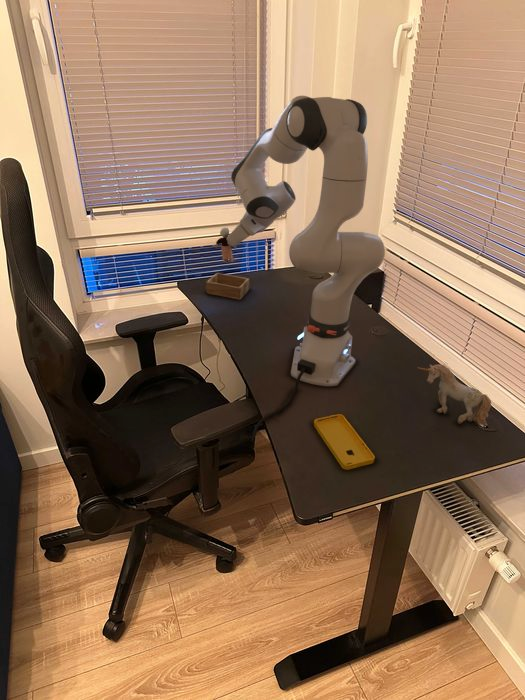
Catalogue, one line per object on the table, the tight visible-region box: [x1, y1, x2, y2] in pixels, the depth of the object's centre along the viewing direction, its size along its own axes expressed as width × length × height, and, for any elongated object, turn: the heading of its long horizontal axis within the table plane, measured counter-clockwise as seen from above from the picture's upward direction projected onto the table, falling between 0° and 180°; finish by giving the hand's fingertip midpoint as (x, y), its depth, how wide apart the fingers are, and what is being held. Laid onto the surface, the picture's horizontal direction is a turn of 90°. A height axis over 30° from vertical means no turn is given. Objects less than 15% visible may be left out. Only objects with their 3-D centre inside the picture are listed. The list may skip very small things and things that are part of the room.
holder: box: [205, 272, 251, 300], centre depth 189 cm, size 10×14×5 cm
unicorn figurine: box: [417, 363, 492, 427], centre depth 128 cm, size 7×20×13 cm, turn 63°
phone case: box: [313, 413, 376, 471], centre depth 120 cm, size 8×17×1 cm, turn 20°
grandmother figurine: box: [214, 227, 237, 263], centre depth 181 cm, size 8×4×13 cm, turn 93°
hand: (230, 242), depth 179 cm, fingers closed on grandmother figurine, 2 cm apart
